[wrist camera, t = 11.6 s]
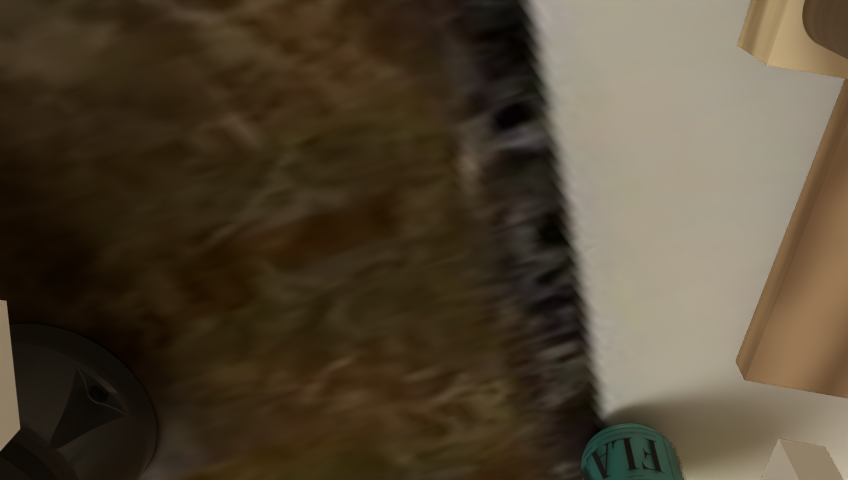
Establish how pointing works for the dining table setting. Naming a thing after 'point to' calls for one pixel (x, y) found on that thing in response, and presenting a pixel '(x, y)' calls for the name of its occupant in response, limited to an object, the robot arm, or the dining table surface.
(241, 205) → the dining table surface
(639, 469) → the beverage bottle
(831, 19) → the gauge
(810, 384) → the board
